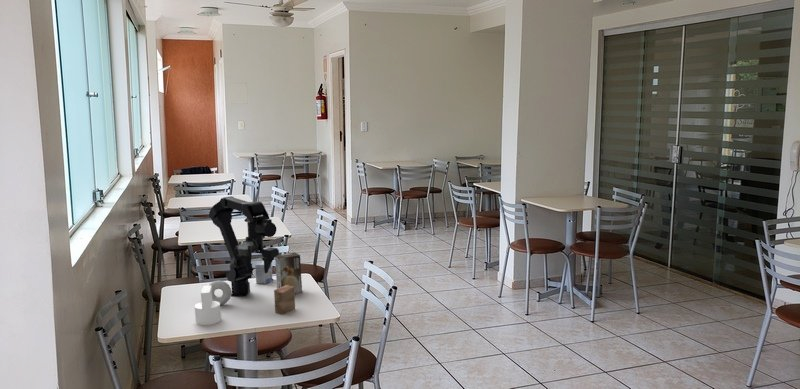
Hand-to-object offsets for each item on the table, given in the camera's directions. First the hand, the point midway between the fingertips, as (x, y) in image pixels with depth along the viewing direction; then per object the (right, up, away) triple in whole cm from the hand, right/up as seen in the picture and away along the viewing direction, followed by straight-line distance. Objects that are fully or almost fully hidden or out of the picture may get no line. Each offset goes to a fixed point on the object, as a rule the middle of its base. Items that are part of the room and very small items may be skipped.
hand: (257, 271), depth 248 cm
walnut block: (+13, -14, -11) cm, 22 cm away
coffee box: (+11, -10, +12) cm, 19 cm away
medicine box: (-3, -8, +28) cm, 29 cm away
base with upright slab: (-13, -16, -20) cm, 29 cm away
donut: (-14, -13, -3) cm, 20 cm away
